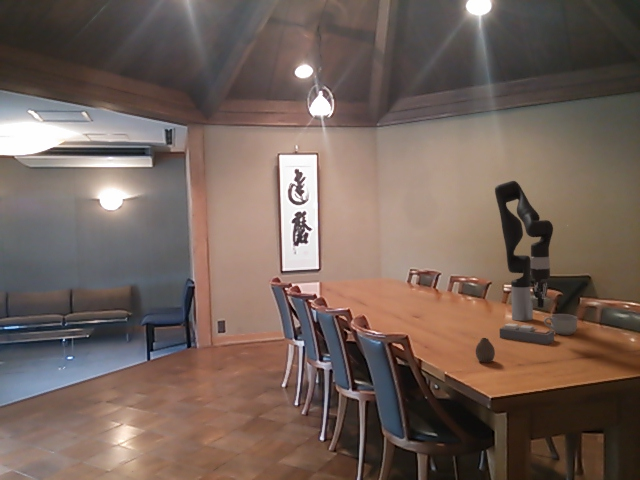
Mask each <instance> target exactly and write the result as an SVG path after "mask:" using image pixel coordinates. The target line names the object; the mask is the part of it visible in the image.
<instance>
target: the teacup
mask: <svg viewBox="0 0 640 480" xmlns="http://www.w3.org/2000/svg"><path fill="white" fill-rule="evenodd" d="M548 320H549V321H550V324H549V323H547V321H548ZM543 323H544V325H545V326H546V327H548V328H549V329H550V330H551V331H554V333H556V334H558V335H562V336H571V335H573V334H574V333H575V332H576V331H577V329H578V328H577V327H578V316H575V315H573V314H568V313H554V314H551V316H546V317H544V319H543Z"/></svg>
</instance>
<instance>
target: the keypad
mask: <svg viewBox="0 0 640 480" xmlns="http://www.w3.org/2000/svg"><path fill="white" fill-rule="evenodd" d="M536 330H538V328H534V330H533V331H531V332H526V331H519V328H518V329H516V330H511V329H504V326H502V327H500V328H499V338H500V339H507V340H512V341H513V340H514V341H521V342H525V343H534V344H539V345H549V344H551V343H553V342H554V341H555V331H554V330H548V331H549V333H547V334H541V333H534V331H536Z"/></svg>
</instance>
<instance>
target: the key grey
mask: <svg viewBox="0 0 640 480" xmlns="http://www.w3.org/2000/svg"><path fill="white" fill-rule="evenodd" d="M534 329H535V327H534V325H527V324H526V325H525V324H522V325H521V326H519V331H526V332H531V331H533V330H534Z"/></svg>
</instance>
